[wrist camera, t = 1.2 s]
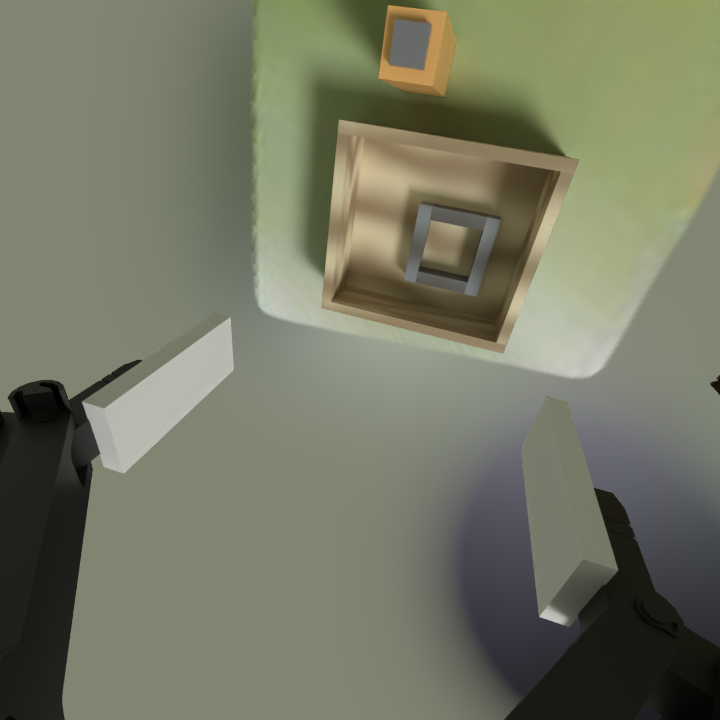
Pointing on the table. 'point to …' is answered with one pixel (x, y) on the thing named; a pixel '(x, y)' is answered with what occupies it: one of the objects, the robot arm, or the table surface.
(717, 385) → the electronic device
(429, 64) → the block
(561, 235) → the table surface
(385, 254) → the walled box
